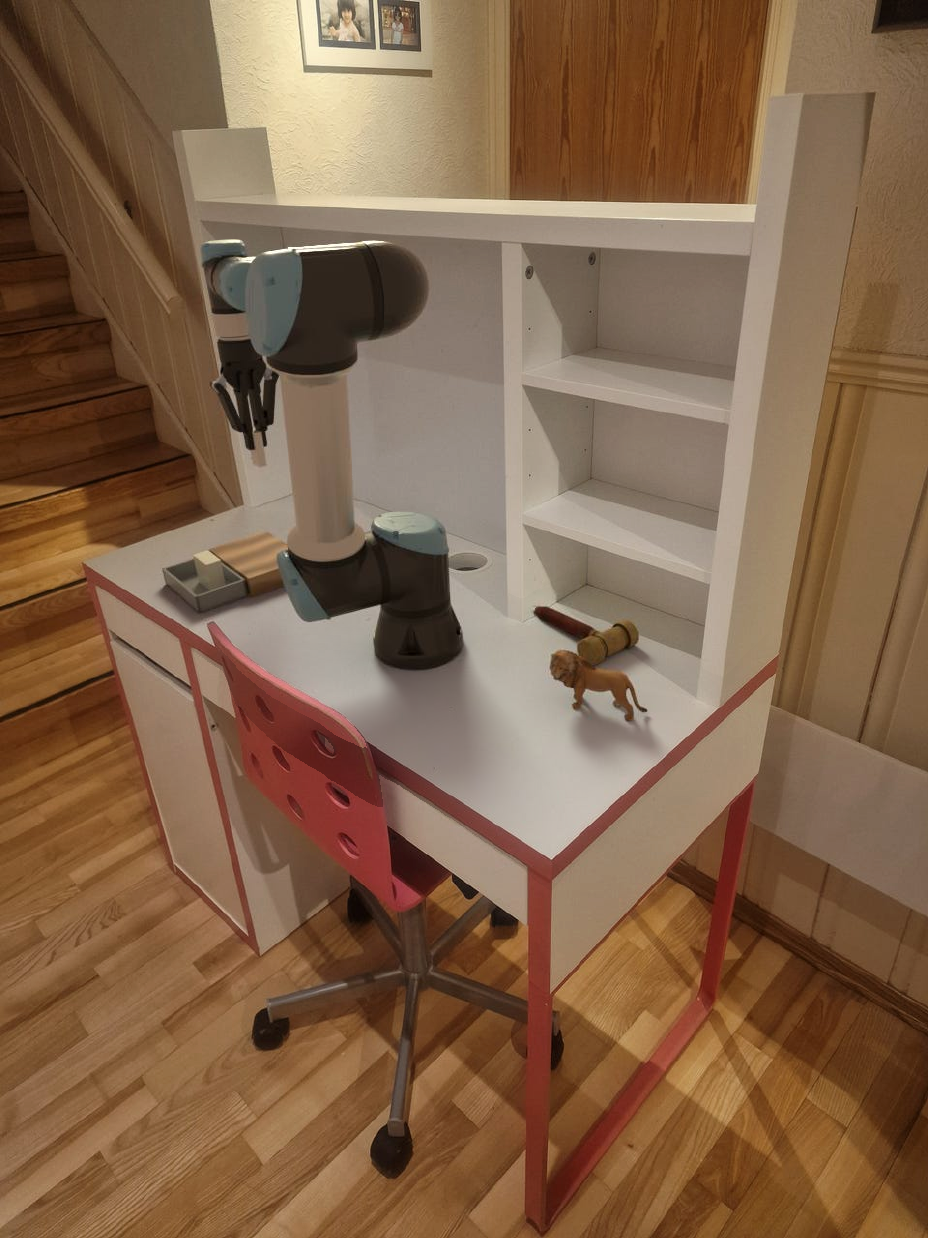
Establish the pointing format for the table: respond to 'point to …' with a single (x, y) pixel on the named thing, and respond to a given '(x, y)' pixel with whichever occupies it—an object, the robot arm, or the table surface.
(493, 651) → the table surface
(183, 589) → the tray
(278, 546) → the board
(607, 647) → the gavel
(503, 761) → the table surface
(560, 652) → the lion figurine
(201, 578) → the block
